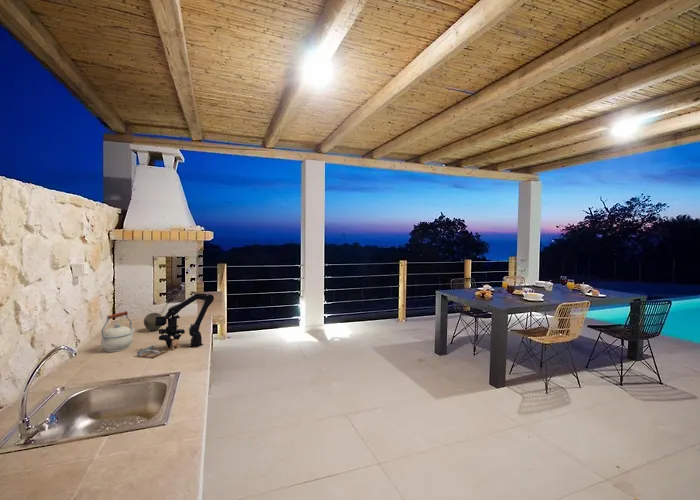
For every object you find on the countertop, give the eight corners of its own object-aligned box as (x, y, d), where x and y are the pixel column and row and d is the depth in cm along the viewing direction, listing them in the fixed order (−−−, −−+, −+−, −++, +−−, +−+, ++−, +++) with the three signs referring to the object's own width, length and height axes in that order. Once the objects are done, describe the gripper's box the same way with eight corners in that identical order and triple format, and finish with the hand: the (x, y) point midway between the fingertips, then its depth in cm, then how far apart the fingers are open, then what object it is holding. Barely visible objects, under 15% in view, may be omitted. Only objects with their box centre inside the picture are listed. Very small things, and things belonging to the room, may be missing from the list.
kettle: (113, 355, 209) (113, 317, 209) (91, 352, 213) (91, 315, 212) (145, 343, 234) (145, 310, 233) (124, 341, 237) (124, 308, 237)
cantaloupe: (145, 329, 269) (145, 311, 269) (164, 327, 275) (164, 310, 275) (142, 333, 256) (142, 315, 256) (162, 332, 262) (162, 314, 262)
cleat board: (167, 352, 218) (167, 347, 218) (153, 358, 205) (153, 353, 205) (152, 350, 220) (152, 345, 220) (137, 356, 208) (137, 351, 208)
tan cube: (178, 347, 226) (178, 339, 226) (173, 350, 221) (173, 341, 221) (171, 347, 227) (171, 338, 227) (165, 349, 222) (165, 341, 222)
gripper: (172, 320, 235) (172, 341, 235) (151, 327, 216) (151, 349, 217) (185, 321, 232) (185, 342, 233) (166, 328, 214) (165, 351, 215)
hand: (172, 346), depth 224 cm, fingers closed on tan cube, 5 cm apart
